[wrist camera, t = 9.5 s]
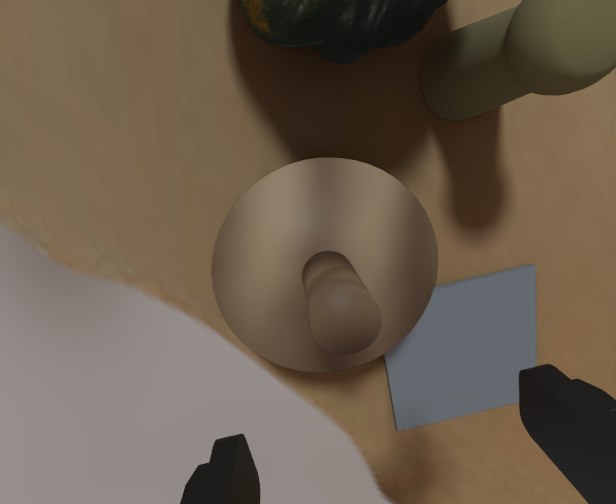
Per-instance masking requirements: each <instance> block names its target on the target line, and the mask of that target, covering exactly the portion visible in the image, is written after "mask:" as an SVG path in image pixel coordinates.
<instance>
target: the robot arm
mask: <svg viewBox="0 0 616 504" xmlns="http://www.w3.org/2000/svg"><path fill="white" fill-rule="evenodd" d="M519 407H520V416H521V419H522V422H523V424H524V426H525V428H526V430H527V432H528V433H529V435H530V436H531V437H532V438H533V440H534V441H535V442H536V443H537V444H538V445H539V447H540V448H541V449H542V450H543V451H544V452H545V454H546V455H547V456H548V457H549V458H550V459H551V460H552V462H553V463H554V464H555V465H556V466H557V467H558V469H559V470H560V471H561V472H562V473H563V474H564V476H565V477H566V478H567V479H568V480H569V481H570V482H571V484H572V485H573V486H574V487H575V488H576V489H577V491H578V492H579V493H580V494H581V495H582V496H583V498H584V499H585V500H586V501H587V502H588V503H589V504H616V400H615V399H614V398H613V397H611V396H610V395H609V394H607V393H606V392H605V391H603V390H602V389H599V388H597V387H595V386H593V385H591V384H589V383H586V382H584V381H582V380H580V379H574V380H571V379H570V378H568V377H567V376H566V375H565V374H563V373H562V372H561V371H560V370H558V369H557V368H556V367H554V366H553V365H550V364H545V365H541V366H536V367H532V368H528V369H523V370H521V371H520V372H519ZM180 504H260V483H259V477H258V472H257V469H256V467H255V464H254V461H253V458H252V455H251V452H250V450H249V447H248V444H247V441H246V438H245V436H244V435H243V434H238V435H234V436H229V437H225V438H221V439H217V440H216V441H215V443H214V445H213V449H212V454H211V458H210V462H209V463H206V464H202V465H198V467H197V468H196V470H195V471H194V473H193V475H192V476H191V478H190V479H189V481H188V482H187V484H186V486H185V489H184V493H183V496H182V499H181V503H180Z"/></svg>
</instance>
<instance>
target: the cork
mask: <svg viewBox="0 0 616 504" xmlns="http://www.w3.org/2000/svg"><path fill="white" fill-rule="evenodd" d="M615 67H616V0H522V2H521V3H520V4H519V6H517V7H514V8H511V9H509V10H506V11H504V12H501V13H499V14H496V15H493V16H491V17H488V18H486V19H483V20H480V21H478V22H475V23H473V24H470V25H468V26H465V27H462V28H460V29H457V30H455V31H452V32H449V33H448V34H446V35H445V36H444V37H443V38H441V39H440V40H439V41H437V42H436V44H435V45H434V47H433V48H432V49H431V51H430V52H429V53H428V56H427V58H426V61H425V64H424V66H423V72H422V82H421V83H422V88H423V93H424V97H425V99H426V101H427V103H428V105H429V106H430V108H431V109H432V110H433V111H434V112H435V113H437V114H438V115H439V116H440V117H443V118H446V119H448V120H454V121H463V120H466V119H469V118H472V117H475V116H477V115H480V114H482V113H484V112H487V111H489V110H491V109H494V108H496V107H498V106H501V105H503V104H505V103H508V102H510V101H512V100H515V99H517V98H520V97H522V96H524V95H527V94H529V93H531V92H532V93H535V94H540V95H564V94H569V93H572V92H575V91H578V90H581V89H584V88H586V87H588V86H590V85H592V84H594V83H596V82H597V81H599V80H600V79H602V78H603V77H605V76H606V75H607V74H609V73H610V72H611V71H612V70H613V69H614V68H615Z"/></svg>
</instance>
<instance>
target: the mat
mask: <svg viewBox="0 0 616 504" xmlns="http://www.w3.org/2000/svg"><path fill="white" fill-rule="evenodd" d="M383 355H384V361H385V367H386V373H387V379H388V385H389V391H390V397H391V402H392V408H393V414H394V420H395V426H396V429H397V431H402V430H406V429H410V428H414V427H418V426H422V425H426V424H430V423H435V422H439V421H443V420H447V419H451V418H455V417H459V416H463V415H468V414H472V413H476V412H480V411H484V410H488V409H492V408H496V407H501V406H505V405H509V404H513V403H517V402H519V372H520V371H521V370H523V369H528V368H532V367H536V266H533V265H531V264H530V265H526V266H522V267H517V268H513V269H509V270H504V271H500V272H496V273H492V274H487V275H483V276H479V277H475V278H470V279H466V280H462V281H458V282H453V283H449V284H445V285H441V286H436V287H434V291H433V293H432V296H431V299H430V301H429V304H428V306H427V308H426V309H425V311H424V313H423V315H422V317H421V318H420V320H419V321H418V322H417V324H416V325H415V327H414V328H413V329H412V330H411V331H410V332H409V334H408V335H407V336H406V337H405V338H404V339H403V340H402V341H400V342H399V343H398V344H397V345H396V346H395V347H393V348H392V349H390V350H389V351H388V352H386V353H385V354H383Z"/></svg>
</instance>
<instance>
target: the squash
mask: <svg viewBox="0 0 616 504" xmlns="http://www.w3.org/2000/svg"><path fill="white" fill-rule="evenodd" d="M447 1H448V0H239V3H240V6H241V8H242V10H243V12H244V15H245V17H246V19H247V21H248V24H249V26H250V27H251V29H252V30H253V31H254V33H256V34H257V35H258V36H259V37H260V38H262V39H264V40H265V41H267V42H268V43H270V44H273V45H275V46H282V47H304V46H309V45H312V46H313V47H314V49H315V50H316V51H317V52H318V53H319V54H320V55H321V56H322V57H323V58H325V59H327V60H329V61H332V62H335V63H340V64H347V63H351V62H353V61H355V60H358V59H359V58H361V57H363V56H364V55H366V54H367V53H369V52H370V51H371V50H372V49H373V48H374V47H378V48H380V47H389V46H396V45H400V44H402V43H403V42H405V41H407V40H409V39H411V38H412V37H414V36H415V35H416V34H417V33H418V32H419V31H420V30H421V29H422V28H423V27H424V25H425V24H426V23H427V22H428V20H429V19H430V17H431V16H432V14H433V13H434V11H435V9H437V8H439V7H440V6H442V5H443V4H445V3H446V2H447Z"/></svg>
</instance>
